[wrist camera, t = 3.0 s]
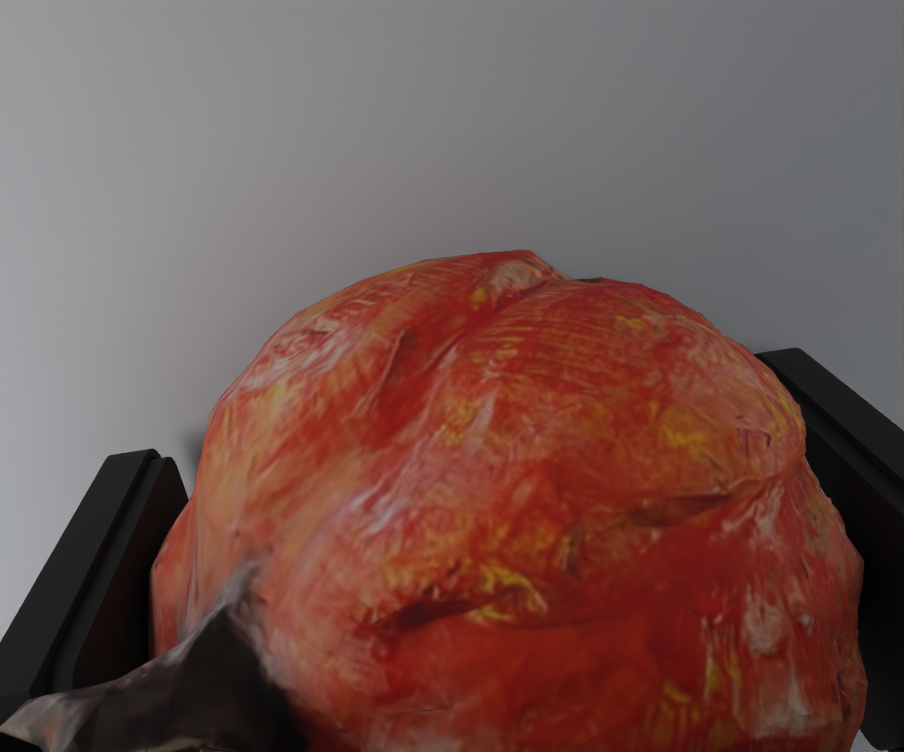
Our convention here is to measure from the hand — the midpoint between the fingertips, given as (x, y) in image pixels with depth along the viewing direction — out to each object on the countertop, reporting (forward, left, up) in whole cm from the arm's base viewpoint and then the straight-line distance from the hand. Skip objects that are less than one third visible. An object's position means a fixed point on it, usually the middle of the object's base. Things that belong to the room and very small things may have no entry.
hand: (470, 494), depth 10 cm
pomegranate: (0, 0, -2) cm, 2 cm away
